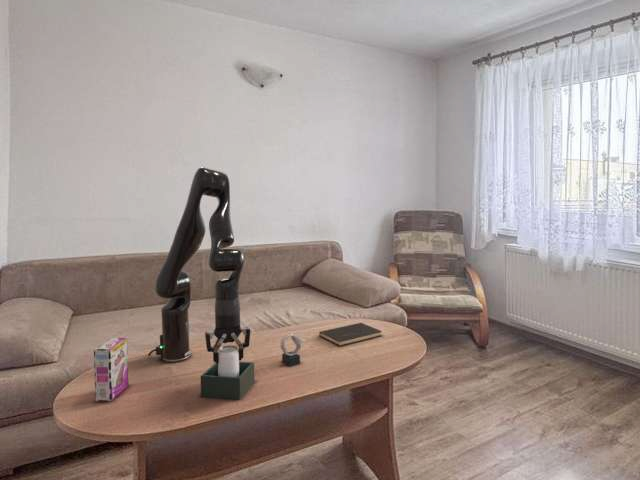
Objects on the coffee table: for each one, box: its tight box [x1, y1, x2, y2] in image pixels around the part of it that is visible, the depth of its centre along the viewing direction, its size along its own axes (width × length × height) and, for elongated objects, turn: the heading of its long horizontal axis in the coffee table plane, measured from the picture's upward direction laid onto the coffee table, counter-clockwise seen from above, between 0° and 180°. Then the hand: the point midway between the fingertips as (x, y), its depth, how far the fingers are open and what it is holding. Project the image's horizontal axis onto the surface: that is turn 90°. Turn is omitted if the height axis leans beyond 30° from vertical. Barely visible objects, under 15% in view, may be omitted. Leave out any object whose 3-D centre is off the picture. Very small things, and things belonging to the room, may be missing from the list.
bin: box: [200, 361, 255, 400], centre depth 142 cm, size 13×13×7 cm
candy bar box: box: [93, 337, 129, 402], centre depth 136 cm, size 11×5×16 cm, turn 5°
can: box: [218, 345, 240, 377], centre depth 142 cm, size 6×6×12 cm
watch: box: [280, 333, 303, 367], centre depth 164 cm, size 6×8×11 cm
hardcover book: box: [318, 322, 383, 347], centre depth 196 cm, size 16×23×2 cm
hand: (228, 361), depth 141 cm, fingers closed on can, 6 cm apart
